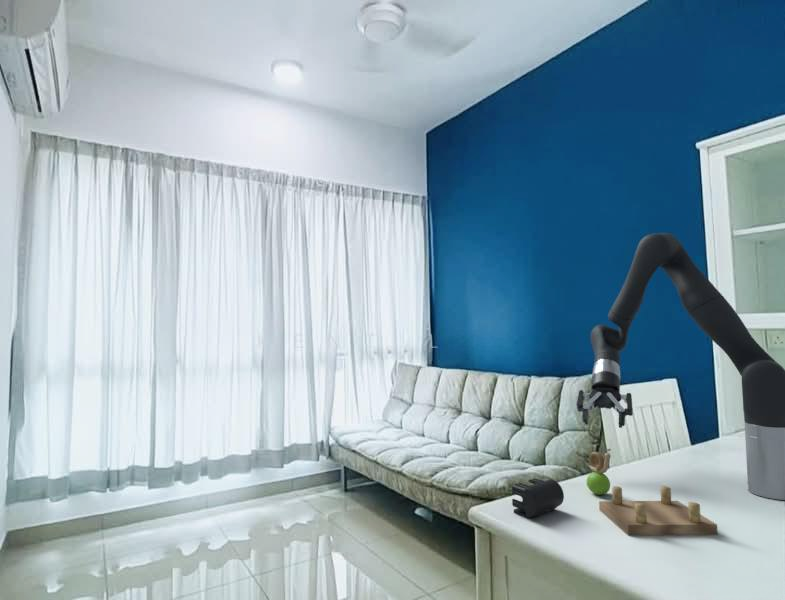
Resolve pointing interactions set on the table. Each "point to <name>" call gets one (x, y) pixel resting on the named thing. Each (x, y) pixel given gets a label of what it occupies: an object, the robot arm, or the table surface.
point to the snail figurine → (599, 473)
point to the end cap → (537, 497)
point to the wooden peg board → (656, 516)
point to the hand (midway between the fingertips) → (603, 424)
